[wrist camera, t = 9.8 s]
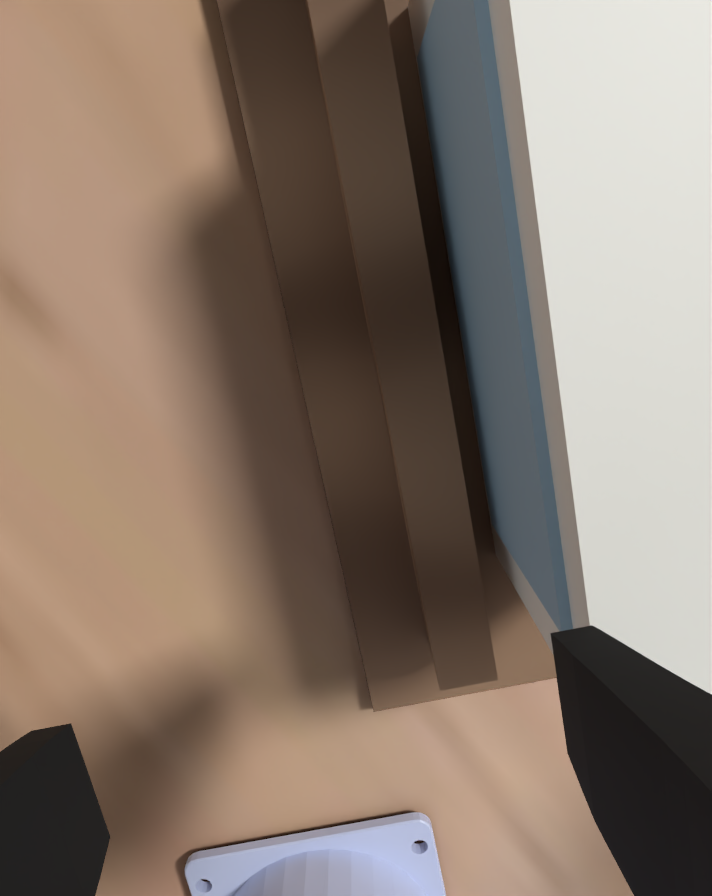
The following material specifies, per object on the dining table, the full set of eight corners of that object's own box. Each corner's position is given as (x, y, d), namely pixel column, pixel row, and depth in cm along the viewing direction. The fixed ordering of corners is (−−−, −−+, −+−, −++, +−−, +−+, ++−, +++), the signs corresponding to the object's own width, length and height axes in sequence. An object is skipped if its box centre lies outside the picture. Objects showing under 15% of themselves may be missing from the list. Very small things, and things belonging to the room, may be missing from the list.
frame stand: (763, 628, 20) (835, 687, 17) (373, 701, 20) (377, 770, 17) (710, -243, 15) (801, -375, 12) (190, -125, 15) (154, -225, 12)
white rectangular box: (618, 531, 18) (818, 706, 11) (488, 556, 19) (593, 747, 11) (555, -25, 15) (775, -357, 7) (399, 9, 15) (455, -284, 8)
